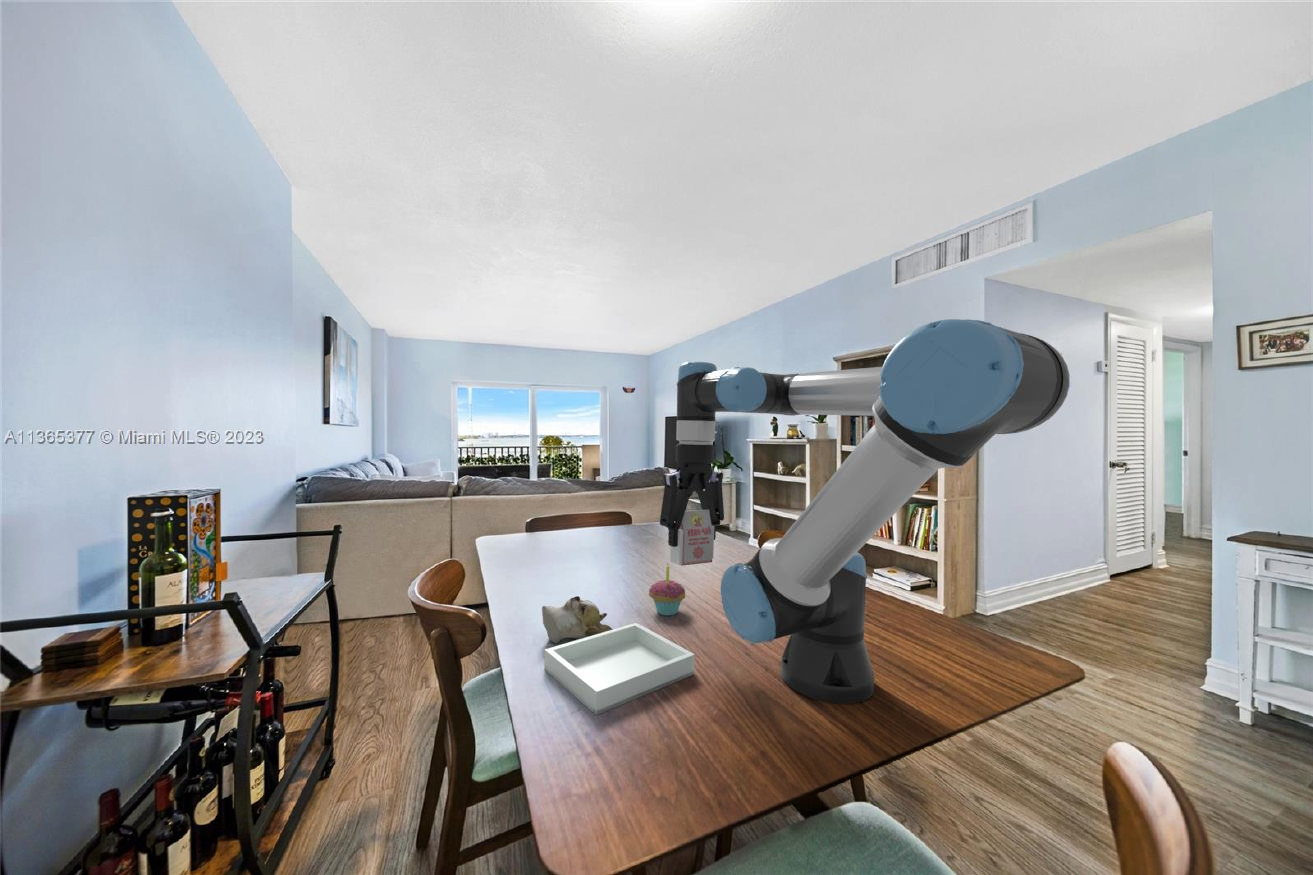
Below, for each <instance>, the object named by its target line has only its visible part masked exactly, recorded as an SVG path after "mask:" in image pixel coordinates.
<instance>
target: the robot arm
mask: <svg viewBox="0 0 1313 875" xmlns="http://www.w3.org/2000/svg"><path fill="white" fill-rule="evenodd" d="M1070 377H1071V376H1070V371H1069V369H1068V364H1067V363H1066V360H1064V357H1063V355H1062V354H1061V353H1060V352H1059V351H1058V350H1057V349H1056V348H1055V347H1054V346H1052V345H1051V344H1049V343H1048V342H1047V341H1045V340H1043V339H1042V338H1041V339H1040V338H1038V337H1035V336H1033V335H1031V334H1026V333H1023V332H1022V333H1021V332H1016V331H1014V330H1010V329H1006V328H1004V327H1000V326H997V325H994V324H992V323H991V322H988V321H983V320H978V319H959V318H948V319H947V318H946V319H942V320H936V321H933V322H928V323H926V324H923V325H921V326H920V327H919V326H918V328H915V329H914V330H912V331H911V332H909V333H907V334H906V335H905V336H904V337H902V338H901V339H900V340H899V341H898V342H897V343H896V344H895V345H894V347H893V348H892V349H891V350H890V351H889V353H888V355H887V356H886V358H885V360H884V363H883V364H882V366H875V367H866V368H865V367H863V368H852V369H851V368H850V369H838V370H827V371H826V370H824V371H813V372H800V373H790V374H789V373H788V374H781V373H780V374H778V373H768V372H762V371H761V372H760V371H758V370H757V369H755V368H754V367H750V366H749V367H739V366H735V367H732V368H729V369H722V370H717V366H716V365H715V363H712V362H707V361H706V362H705V361H693V362H689V361H688V362H684V363H682V364H680V365H679V367H678V376H677V382H676V388H677V389H676V391H677V392H676V434H675V435H676V438H675V440H676V441H677V442H678V441H679V443H677V444H676V445H675V461H676V463H677V468H676V470H675V472H672V473H664V474H663V481H664V482H663V483H664V488H663V497H662V504H661V509H660V510H661V511H660V518H659V525H660V526H662V527H664V528H665V527H666V528H667V530H668V534H667V537H668V538H667V539H668V540H667V543H668V546H670V552H669V553H670V555H669V556H670V558H669V562H671V563H672V564H676V565H679V566H681V564H682V556H683V530H681V529H679V528H680V526H681V523H682V519H683V516H684V513H685V511H687V510H686V509H687V507H688V504H689V500H690V497H692V496H693V495H694V494H693V493H694V492H695V493H697V496H698V499H699V503H700V506H701V510H709V512H710V519H711V524H712V529H713V552H714V550H715V549H714V548H715V547H714V546H715V545H714V542H715V540H716V538H717V535H716V534H717V533H716V532H717V526H721V522H722V521H724V520H725V511H724V510H725V509H724V496H723V480H724V473H723V472H722V471H721V472H720V471H715V470H713V468H712V464H714V463H715V450H716V449H715V447H716V446H714V444H713V443H714V442H715V441H716V413H743V414H745V413H746V414H770V415H783V416H799V415H800V416H801V415H807V416H809V415H814V416H819V415H820V416H824V415H825V416H865V417H866V416H872V417H874V418H873V419H874V424H873V426H871V428H870V429H869V430H868V431H867V433H866V434H865V435H864V437H863V438H862V439H861V440H860V442H859V443H858V444H857V445H856V446H855V447H854V449H853V450H852V451H851V453H850V454H849V455H848V456H847V457H846V458H845V460H844V461H843V462H842V463H841V465H840V466H839V467H838V468H837V470H836V471H835V472H834V473H833V475H832V476H830V479H829V480H828V481H827V482H826V483H825V484H824V486H823V487H822V488H821V489H820V490H819V492H817V494H816V495H815V497H814V498H813V499H812V500H811V502H810V503H809V504H808V505H807V506H806V508H805V509H804V510H803V511H802V513H801V514H800V515H799V516H798V517H797V519H796V520H795V521H794V522H793V524H792V525H791V526H790V528H788V530H787V531H785V532H786V533H784V535H783V536H782V537H776V538H771V539H768V540H766V541H765V543H763V544H762V546H760V548H759V549H758V551H757V552H756V553H755V554H754V556H752V558H751V559H750V560H749V561H747V562H745V563H742V562H738V563H735V564H733V565H731V566H728V568H727V569H726V570H725V571H724V572H723V575H722V578H721V581H720V597H721V603H722V608H723V612H724V614H725V617H726V619H727V621H728V622H729V624H730V626H731V627H732V629H733V631H734V632H735V633H736V634H737V635H738V637H740V638H741V639H743V640H745V641H747V642H748V643H751V644H763V643H771V642H773V641H774V640H777V639H780V638H783V637H784V638H785V637H787V636H789V638H788V640H787V643H786V646H785V648H784V651H783V654H782V657H781V660H780V675H781V678H782V680H783V681H784V682H785V684H787V685H788V686H789V687H790V688H791V689H792V690H794V691H795V692H797V693H799V694H801V695H803V696H806V697H808V698H811V699H813V700H817V701H822V702H826V703H832V704H845V705H846V704H847V705H849V704H856V703H861V702H864V701H866V700H868V699H870V698H871V697H872V696H873V694H874V692H875V674H874V671H873V668H872V667H873V666H872V664H871V661H870V657H869V654H868V650H867V648H866V644H865V620H866V619H865V617H866V614H865V613H866V591H867V590H866V584H867V579H868V575H867V567H866V566H867V565H866V559H865V557H864V555H862V554H861V553H860V552H859V551H860V550H861V548H863V547H864V546H865V544H867V543H868V542H869V541H870V540H871V539H872V538H873V536H875V535H876V534H877V533H878V532H879V530H880V529H881V528H882V527H883V526H884V525H885V524H886V523H887V522H888V521H890V519H891V518H892V517H893V516H894V515H895V514H896V513H897V512H898V511H899V510H900V509H901V508H902V507H903V506H904V505H905V504H906V503H907V502H908V501H909V500H910V499H911V498H912V497H913V496H914V495H915V494H916V492H918V490H920V489H921V487H922V486H924V484H925V483H926V482H928V481H929V479H930V478H932V476H933V475H934V474H936V473H937V471H938V470H939V469H956V468H961V467H963V466H964V465H965V464H967V463H968V462H969V461H970V459H972V458H973V457H974V456H975V455H976V453H978V452H979V451H980V450H981V449H982V448H983V447H984V446H985V445H986V444H987V443H988V442H989V441H990V440H991V439H992V438H993V437H994V436H995V435H1011V434H1019V433H1022V432H1027V431H1029V430H1031V429H1034V428H1036V427H1039V426H1041V425H1042V424H1044V423H1046V422H1047V421H1049V420H1050V419H1051V418H1052V417H1053V416H1054V415H1055V414H1056V413H1057V412H1058V411H1059V410H1060V408H1061V407H1062V406H1063V405H1064V403H1065V401H1066V399H1067V397H1068V393H1069V389H1070V384H1071V383H1070ZM712 559H714V553H713V554H712Z"/></svg>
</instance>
